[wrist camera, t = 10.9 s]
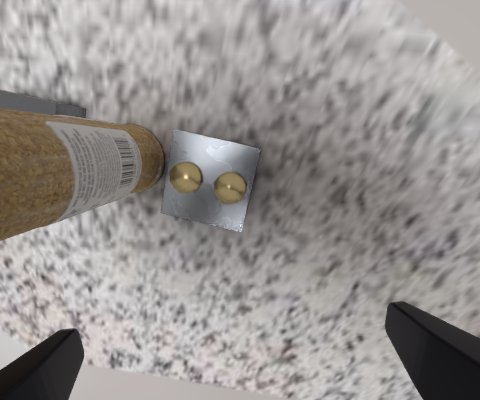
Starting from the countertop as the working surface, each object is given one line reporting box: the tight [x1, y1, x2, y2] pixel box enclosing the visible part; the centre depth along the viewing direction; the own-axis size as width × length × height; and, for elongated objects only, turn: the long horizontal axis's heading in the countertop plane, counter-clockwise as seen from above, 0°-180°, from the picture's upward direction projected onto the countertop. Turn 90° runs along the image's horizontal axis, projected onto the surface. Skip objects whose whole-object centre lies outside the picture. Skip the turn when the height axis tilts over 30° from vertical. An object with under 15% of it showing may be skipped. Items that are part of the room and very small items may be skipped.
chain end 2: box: [161, 129, 261, 232], centre depth 16 cm, size 5×5×3 cm
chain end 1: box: [0, 90, 86, 118], centre depth 16 cm, size 5×5×3 cm
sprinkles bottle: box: [0, 109, 164, 241], centre depth 11 cm, size 5×5×13 cm
